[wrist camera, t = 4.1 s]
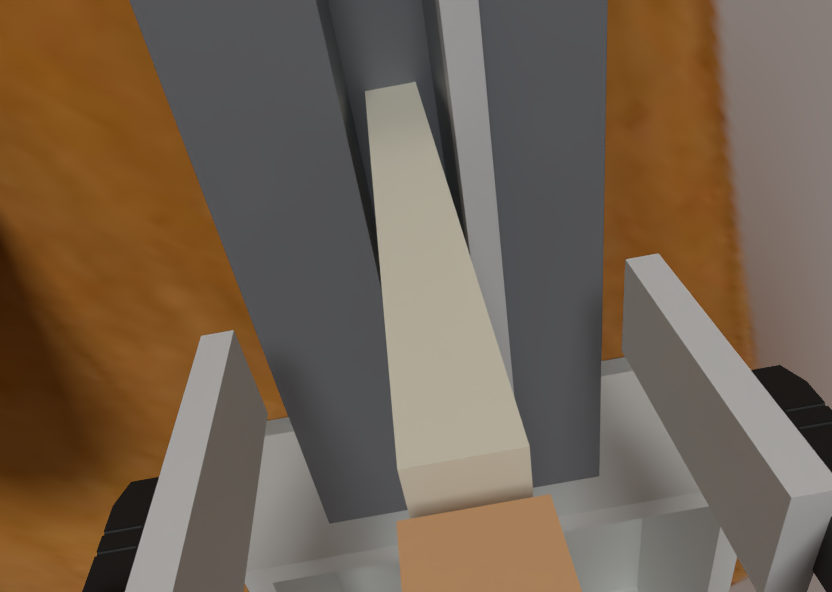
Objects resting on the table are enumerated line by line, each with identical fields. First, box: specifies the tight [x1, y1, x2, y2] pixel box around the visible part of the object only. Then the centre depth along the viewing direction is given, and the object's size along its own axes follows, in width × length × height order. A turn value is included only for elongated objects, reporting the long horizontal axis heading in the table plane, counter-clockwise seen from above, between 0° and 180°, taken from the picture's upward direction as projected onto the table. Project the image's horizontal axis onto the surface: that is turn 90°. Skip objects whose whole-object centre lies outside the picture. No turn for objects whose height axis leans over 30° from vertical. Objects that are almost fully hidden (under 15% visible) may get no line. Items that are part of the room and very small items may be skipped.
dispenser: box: [130, 0, 607, 524], centre depth 21 cm, size 20×10×9 cm, turn 9°
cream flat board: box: [365, 82, 582, 592], centre depth 14 cm, size 8×2×16 cm, turn 9°
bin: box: [245, 357, 737, 592], centre depth 33 cm, size 20×20×8 cm
